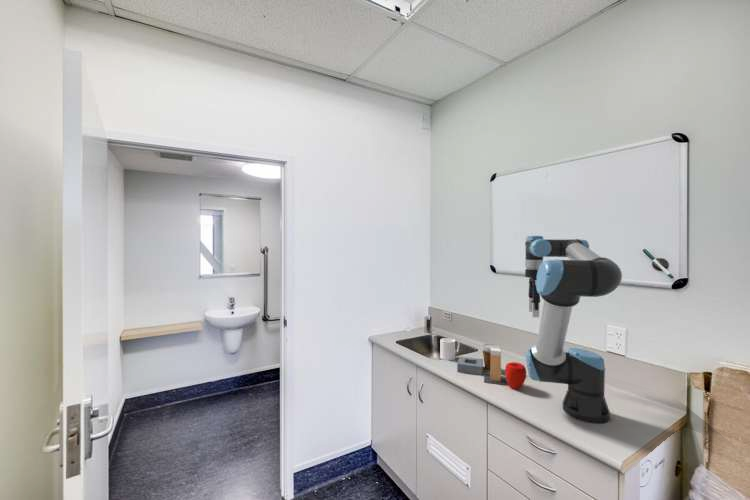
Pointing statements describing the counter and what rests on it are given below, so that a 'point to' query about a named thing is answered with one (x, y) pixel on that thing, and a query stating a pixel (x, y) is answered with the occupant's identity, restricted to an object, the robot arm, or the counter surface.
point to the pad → (503, 381)
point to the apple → (515, 374)
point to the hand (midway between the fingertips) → (533, 314)
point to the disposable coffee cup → (488, 354)
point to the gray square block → (470, 365)
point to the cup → (448, 348)
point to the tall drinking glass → (495, 364)
